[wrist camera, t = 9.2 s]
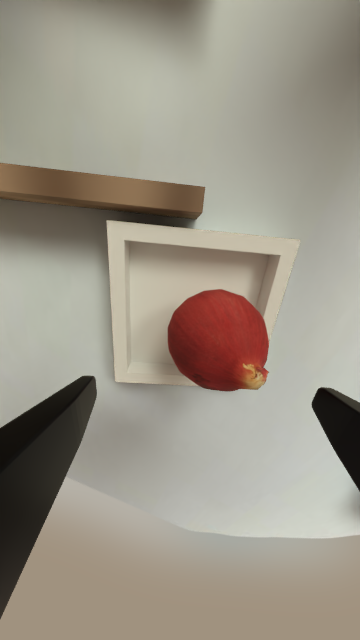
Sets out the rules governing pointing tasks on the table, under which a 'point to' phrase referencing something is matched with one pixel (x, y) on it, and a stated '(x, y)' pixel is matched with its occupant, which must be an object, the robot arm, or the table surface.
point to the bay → (100, 191)
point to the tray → (183, 287)
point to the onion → (219, 341)
